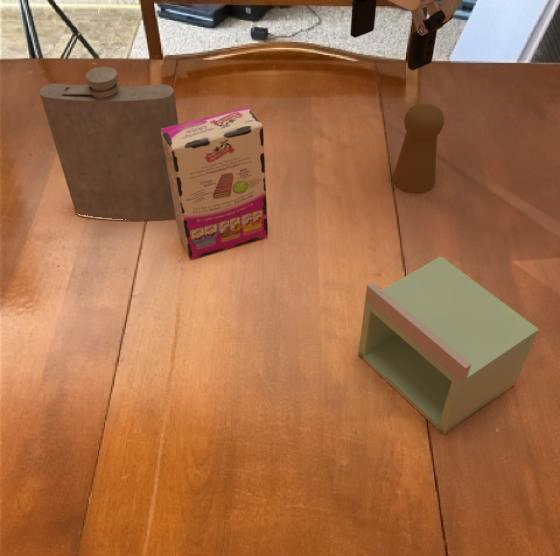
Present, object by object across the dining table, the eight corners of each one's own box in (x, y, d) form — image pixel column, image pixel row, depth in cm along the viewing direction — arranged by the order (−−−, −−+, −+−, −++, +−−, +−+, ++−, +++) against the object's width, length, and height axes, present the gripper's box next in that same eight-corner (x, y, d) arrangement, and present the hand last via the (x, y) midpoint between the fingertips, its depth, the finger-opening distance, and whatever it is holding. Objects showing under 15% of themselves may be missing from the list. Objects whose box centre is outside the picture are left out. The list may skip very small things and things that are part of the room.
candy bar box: (254, 216, 93) (249, 104, 80) (269, 237, 90) (266, 125, 77) (176, 238, 90) (158, 126, 77) (189, 261, 87) (172, 148, 74)
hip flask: (191, 204, 95) (172, 63, 79) (188, 223, 92) (168, 81, 76) (78, 202, 95) (37, 62, 79) (71, 221, 92) (28, 80, 77)
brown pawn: (439, 191, 96) (454, 120, 87) (397, 194, 96) (407, 123, 87) (429, 166, 100) (443, 96, 91) (389, 168, 99) (398, 98, 91)
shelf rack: (427, 312, 81) (444, 241, 73) (515, 384, 74) (545, 315, 66) (357, 355, 77) (366, 284, 69) (443, 435, 70) (465, 368, 62)
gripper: (506, -116, 61) (468, 69, 75) (378, -158, 70) (364, 14, 84) (447, -97, 59) (418, 90, 72) (322, -144, 68) (317, 31, 81)
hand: (389, 49), depth 78 cm, fingers open, 9 cm apart
